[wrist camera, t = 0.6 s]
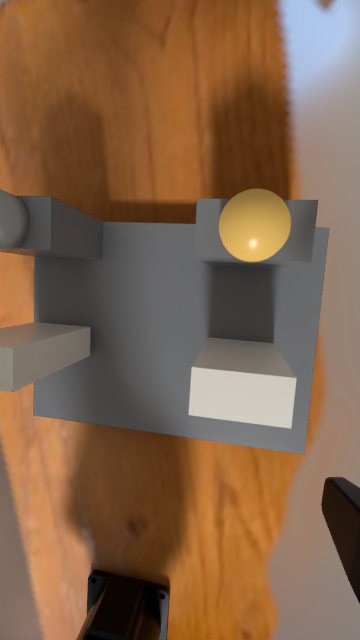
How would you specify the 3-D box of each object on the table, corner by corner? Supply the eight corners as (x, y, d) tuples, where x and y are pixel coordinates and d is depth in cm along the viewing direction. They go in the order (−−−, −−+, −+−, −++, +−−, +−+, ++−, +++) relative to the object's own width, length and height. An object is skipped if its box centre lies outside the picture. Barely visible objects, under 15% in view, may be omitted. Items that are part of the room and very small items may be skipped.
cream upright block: (89, 355, 22) (12, 391, 14) (36, 350, 22) (-64, 381, 15) (90, 326, 22) (12, 348, 14) (36, 322, 22) (-65, 339, 15)
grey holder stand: (299, 443, 22) (337, 540, 13) (45, 407, 25) (-52, 468, 17) (323, 229, 20) (382, 189, 12) (47, 221, 23) (-58, 185, 15)
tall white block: (271, 375, 20) (291, 428, 12) (206, 368, 20) (188, 414, 13) (274, 343, 20) (296, 378, 12) (209, 337, 20) (191, 366, 13)
